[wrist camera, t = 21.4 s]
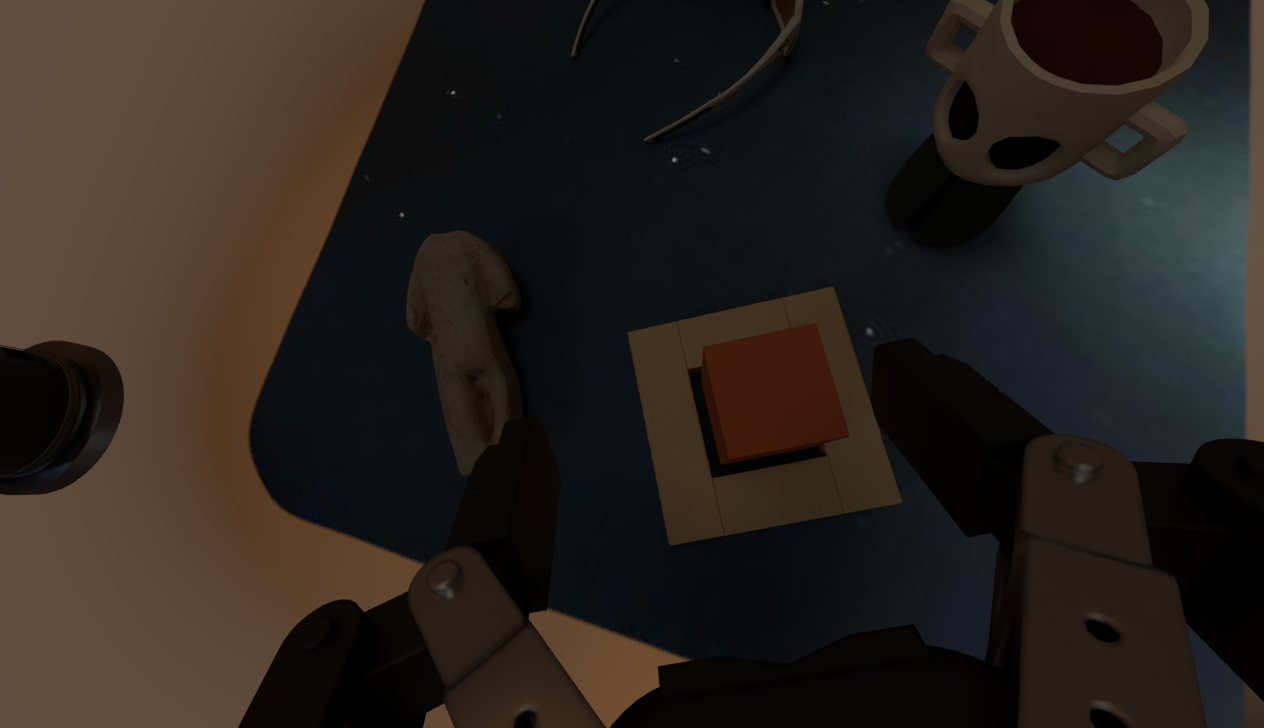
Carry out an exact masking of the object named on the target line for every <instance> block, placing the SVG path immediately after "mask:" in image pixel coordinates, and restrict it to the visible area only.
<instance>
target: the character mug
mask: <svg viewBox="0 0 1264 728" xmlns="http://www.w3.org/2000/svg"><path fill="white" fill-rule="evenodd" d="M1208 22H1209V9H1208V7H1207V5H1206V3H1205V1H1204V0H999V1H998V2H997V3H996V5H995V6H994V5H992V4H991V3H989V2H987V1H986V0H951V1H950V2H949V4H948V6H947V8H946V10H945V11H944V13H943V15H942V17H941V19H940V21H939V23H938V25H937V27H936V28H935V30H934V32H933V34H932V36H931V38H930V40H929V42H928V44H927V48H926V53H925V55H926V56H927V57H928V59H929V60H930V61H931V62H932V63H934V64H935V65H937V66H938V67H940V68H941V69H943V70H944V71H946V72H947V73H949V74H950V77H949V79H948V80H947V82H946V84H945V85H944V87H943V89H942V90H941V92H940V94H939V95H938V97H937V99H936V102H935V109H934V115H933V121H932V127H931V128H932V131H933V133H932V134H931V135H930V136H929V137H928V138H927V139H926V141H925V142H924V143H923V144H922V145H921V146H920V147H919V148H918V149H917V150H916V151H915V152H914V153H913V154H912V156H911V157H910V158H909V159H908V160H907V161H906V163H905V164H904V165H903V166H902V168H901V169H900V171H899V172H898V174H897V175H896V177H895V178H894V180H893V181H892V183H891V184H890V186H889V199H888V207H889V209H890V211H891V213H892V216H893V218H894V220H895V222H896V224H897V225H899V226H900V227H901V226H902V225H903V224H904V223H905V222H906V221H907V220H908V219H909V218H910V217H911V216H912V217H913V218H914V219H915V221H916V222H918V223H921V224H922V225H921V226H920V228H919V229H918V230H917V231H916V232H915V234H914V235H913V237H914V238H915V239H916V240H919V241H923V242H927V243H930V244H934V245H938V246H942V245H951V244H960V243H965V242H967V241H968V240H970V239H972V238H973V237H975V236H977V235H978V234H980V233H982V232H983V231H985V230H987V229H988V228H989V226H990V225H991V224H992V223H993V222H994V221H995V220H996V219H997V217H998V216H999V215H1000V214H1001V213H1002V212H1003V211H1004V209H1005V208H1006V207H1007V205H1008V204H1009V203H1010V202H1011V200H1012V199H1013V198H1014V197H1015V195H1016V194H1017V193H1018V191H1019V190H1020V189H1021V188H1022V186H1023V185H1024V184H1029V183H1035V182H1040V181H1043V180H1047V179H1050V178H1052V177H1054V176H1056V175H1058V174H1059V173H1061V172H1063V171H1064V170H1066V169H1068V168H1070V167H1071V166H1073V165H1075V164H1076V163H1078V162H1079V161H1082V162H1083V163H1085V164H1086V165H1088V166H1089V167H1091V168H1092V169H1094V170H1095V171H1097V172H1098V173H1100V174H1101V175H1103V176H1104V177H1107V178H1110V179H1113V180H1120V179H1123V178H1126V177H1129V176H1131V175H1134V174H1136V173H1137V172H1139V171H1140V170H1141V169H1143V168H1144V167H1146V166H1147V165H1149V164H1150V163H1151V162H1153V161H1154V160H1156V159H1157V158H1159V157H1160V156H1161V155H1163V154H1164V153H1166V152H1167V151H1169V150H1170V149H1172V148H1173V147H1174V146H1176V145H1177V144H1179V143H1180V142H1181V141H1182V139H1183V138H1184V137H1185V135H1186V134H1187V133H1188V127H1187V125H1186V124H1185V123H1184V121H1183V120H1182V119H1181V118H1180V117H1178V116H1177V115H1175V114H1173V113H1172V112H1170V111H1168V110H1167V109H1165V108H1164V107H1162V106H1160V105H1159V104H1157V103H1155V102H1154V101H1153V100H1154V99H1155V98H1156V97H1157V96H1159V95H1160V94H1161V93H1162V92H1163V91H1165V90H1166V89H1167V88H1168V87H1169V86H1171V85H1172V84H1173V83H1174V82H1175V81H1177V80H1178V79H1179V78H1180V77H1181V76H1182V75H1183V74H1184V73H1185V72H1186V71H1187V70H1188V69H1189V68H1190V67H1191V66H1192V64H1193V63H1194V61H1195V59H1196V58H1197V56H1198V55H1199V53H1200V52H1201V50H1202V48H1203V47H1204V45H1205V44H1206V42H1207V41H1208ZM961 23H964V24H965V25H967V26H969V27H970V28H972V29H973V30H975V31H977V32H978V34H977V36H976V37H975V39H974V40H973V42H972V43H971V45H970V46H969V48H968V49H967V51H966V52H965V51H963V50H962V49H960V48H958V47H957V46H955V45H954V44H953V43H952V42H951V40H952V39H953V37H954V35H955V34H956V32H957V30H958V28H959V27H960V25H961ZM1124 124H1125V125H1127V126H1129V127H1130V128H1132V129H1133V130H1135V131H1137V132H1138V133H1140V134H1142V135H1143V136H1145V138H1144V139H1142V140H1141V141H1140V142H1138V143H1137V144H1136V145H1134V146H1133V147H1132V148H1131V149H1129V150H1128V151H1127V152H1125V153H1122V152H1120V151H1119V150H1117V149H1116V148H1114V147H1113V146H1111V145H1109V144H1108V143H1106V142H1105V141H1104V140H1105V139H1107V138H1108V137H1109V136H1110V135H1111V134H1113V133H1114V132H1115V131H1116V130H1117V129H1119V128H1120V127H1121V126H1122V125H1124Z"/></svg>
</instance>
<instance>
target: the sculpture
mask: <svg viewBox="0 0 1264 728" xmlns="http://www.w3.org/2000/svg"><path fill="white" fill-rule="evenodd" d="M520 306H521V294H520V290H519V288H518V286H517V284H516V282H515V280H514V278H513V275H512V273H511V271H510V269H509V267H508V265H507V263H506V261H505V260H504V258H503V257H502V256H501V255H500V254H499V253H498V252H497V251H496V250H495V249H494V248H493V247H492V246H491V245H490V244H488V243H487V242H485V241H484V240H482V239H480V238H478V237H476V236H474V235H472V234H471V233H469V232H465V231H452V232H449V233H446V234H432V235H430V236H429V237H428V238H427V239H426V240H425V241H424V242H423V244H422V245H421V247H420V249H419V251H418V254H417V256H416V259H415V263H414V269H413V272H412V275H411V278H410V281H409V288H408V297H407V323H408V327H409V328H410V329H411V330H412V331H413V332H414V334H416V335H417V336H419V337H420V338H421V339H423V340H428V341H429V342H430V344H431V345H432V356H433V362H434V367H435V373H436V378H437V383H438V387H439V394H440V400H441V404H442V410H443V414H444V418H445V422H446V426H447V430H448V434H449V438H450V441H451V444H452V447H453V450H454V453H455V456H456V461H457V464H458V468H459V471H460V473H461V475H462V476H464V477H467V476H470V475H471V472H472V469H473V466H474V463H475V462H476V460H477V459H478V458H479V457H480V455H481V454H482V453H483V452H484V450H485V449H486V448H487V447H488V446H490V445H495V444H498V443H499V439H500V436H501V432H502V429H503V426H504V423H505V422H506V421H510V420H514V419H519V418H523V403H522V394H521V387H520V384H519V380H518V377H517V374H516V371H515V369H514V366H513V364H512V362H511V359H510V357H509V355H508V352H507V350H506V347H505V345H504V342H503V340H502V337H501V335H500V332H499V330H498V327H497V313H498V312H499V311H503V312H508V313H514V312H516V311H518V310H519V309H520Z"/></svg>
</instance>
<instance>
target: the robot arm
mask: <svg viewBox="0 0 1264 728" xmlns="http://www.w3.org/2000/svg"><path fill="white" fill-rule="evenodd" d="M5 347H6V346H5ZM5 347H0V483H1V482H2V481H4V480H5V479H7V478H17V477H24V476H28V475H31V474H34V473H36V472H38V471H40V470H42V469H44V468H45V467H47V466H48V465H49V464H51V463H52V462H53V461H54V460H56V459H57V458H58V457H59V456H60V455H61V454H62V453H63V452H64V450H65V449H66V448H67V447H68V446H69V444H70V443H71V441H72V440H73V438H74V437H75V435H76V433H77V431H78V429H79V427H80V425H81V422H82V419H83V416H84V413H85V408H86V400H87V392H86V385H85V381H84V378H83V375H82V373H81V372H80V370H79V369H78V367H77V366H76V365H75V364H74V363H72V362H71V361H69V360H68V359H65V358H63V357H59V356H54V355H49V354H44V353H40V352H39V353H31V352H26V351H21V350H16V349H17V348H16V349H10V348H5ZM7 347H8V346H7ZM11 348H13V347H11ZM23 350H24V349H23ZM28 351H29V350H28ZM33 352H34V351H33ZM871 402H872V408H873V412H874V415H875V418H876V420H877V422H878V424H879V425H880V427H881V428H882V429H883V430H884V432H885V433H886V434H887V436H888V437H889V438H890V439H891V441H892V442H893V443H894V444H895V446H896V447H897V448H898V450H899V451H900V452H901V453H902V455H903V456H904V457H905V459H906V460H907V461H908V462H909V464H910V465H911V466H912V467H913V469H914V470H915V471H916V473H917V474H918V475H919V476H920V478H921V479H922V480H923V481H924V483H925V484H926V485H927V487H928V488H929V489H930V490H931V492H932V493H933V494H934V496H935V497H936V498H937V499H938V501H939V502H940V503H941V504H942V506H943V507H944V508H945V510H946V511H947V512H948V513H949V515H950V516H951V517H952V519H953V520H954V521H955V522H956V524H957V525H958V526H959V527H960V529H961V530H962V531H963V533H964V534H965V535H966V536H967V537H973V536H978V535H984V534H990V533H992V534H993V536H994V537H995V538H996V539H997V540H998V541H999V547H998V551H997V556H996V567H995V579H994V590H993V601H992V612H991V623H990V633H989V641H988V647H987V652H986V657H985V662H984V661H982V660H980V659H977V658H975V657H973V656H970V655H967V654H963V653H960V652H957V651H954V650H950V649H945V648H940V647H936V646H929V645H925V643H924V641H923V639H922V638H921V636H920V634H919V632H918V631H917V629H916V627H915V625H914V624H911V625H905V626H899V627H892V628H886V629H880V630H874V631H868V632H862V633H856V634H850V635H847V636H845V637H843V638H841V639H839V640H837V641H835V642H833V643H831V644H829V645H827V646H825V647H823V648H821V649H819V650H817V651H814V652H812V653H810V654H808V655H806V656H804V657H802V658H800V659H798V660H796V661H793V662H790V663H777V662H768V661H758V660H749V659H740V658H730V657H721V656H718V657H711V658H705V659H699V660H693V661H687V662H681V663H675V664H669V665H664V666H658V673H659V685H660V687H658V688H656V689H654V690H652V691H651V692H649V693H647V694H646V695H644V696H643V697H641V698H640V699H638V700H637V701H635V702H634V703H633V704H632V705H631V706H630V707H629V708H628V709H626V710H625V711H624V712H623V713H622V714H621V715H620V716H619V718H618V719H617V720H616V721H615V722H614V723H613V724H612V725H611V727H610V728H1207V724H1206V719H1205V714H1204V709H1203V704H1202V699H1201V694H1200V690H1199V685H1198V680H1197V675H1196V670H1195V665H1194V660H1193V656H1192V651H1191V646H1190V641H1189V636H1188V631H1187V626H1186V623H1187V624H1188V625H1189V626H1190V627H1191V628H1192V629H1193V630H1194V631H1195V632H1196V633H1197V635H1198V636H1199V637H1200V638H1201V639H1202V640H1203V641H1204V642H1205V643H1206V644H1207V645H1208V646H1209V647H1210V648H1211V649H1212V650H1213V651H1214V652H1215V653H1216V654H1217V655H1218V656H1219V657H1220V658H1221V659H1222V660H1223V661H1224V662H1225V663H1226V664H1227V665H1228V666H1229V667H1230V668H1231V669H1232V670H1233V671H1234V672H1235V673H1236V674H1237V675H1238V676H1239V677H1240V678H1241V679H1242V680H1243V681H1244V682H1245V683H1246V684H1247V685H1248V686H1249V687H1250V688H1251V689H1252V690H1253V691H1254V692H1255V693H1256V694H1257V695H1258V696H1259V698H1261V699H1262V701H1264V442H1260V441H1254V440H1246V439H1218V440H1213V441H1209V442H1207V443H1204V444H1203V445H1202V446H1200V447H1199V449H1198V450H1197V452H1196V454H1195V456H1194V458H1193V460H1192V462H1191V464H1180V463H1155V462H1133V461H1129V460H1128V459H1127V458H1126V457H1125V456H1124V455H1122V454H1121V453H1120V452H1118V451H1117V450H1115V449H1113V448H1111V447H1109V446H1107V445H1105V444H1103V443H1100V442H1098V441H1095V440H1092V439H1088V438H1085V437H1080V436H1075V435H1067V434H1054V433H1053V432H1052V431H1051V430H1049V429H1048V428H1047V427H1045V426H1044V425H1043V424H1042V423H1040V422H1039V421H1038V420H1037V419H1035V418H1034V417H1033V416H1032V415H1030V414H1029V413H1028V412H1027V411H1025V410H1024V409H1023V408H1022V407H1020V406H1019V405H1018V404H1017V403H1015V402H1014V401H1013V400H1012V399H1010V398H1009V397H1008V396H1007V395H1005V394H1004V393H1000V392H999V389H998V388H997V387H995V386H994V385H993V384H992V383H990V382H989V381H985V378H984V377H983V376H981V375H980V374H979V373H978V372H976V371H975V370H974V369H973V368H971V367H970V366H969V365H968V364H966V363H963V362H961V361H958V360H956V359H953V358H951V357H949V356H946V355H944V354H940V355H934V354H933V353H932V352H930V351H929V350H928V349H927V348H926V347H925V346H923V345H922V344H921V343H920V342H919V341H917V340H916V339H914V338H909V339H904V340H899V341H894V342H889V343H885V344H880V345H877V346H876V347H875V349H874V354H873V373H872V395H871ZM560 489H561V478H560V471H559V466H558V463H557V460H556V457H555V455H554V452H553V450H552V447H551V445H550V442H549V440H548V437H547V435H546V432H545V430H544V427H543V425H542V423H541V420H540V419H539V417H538V416H537V415H534V416H529V417H524V418H519V419H514V420H510V421H506V422H505V423H504V426H503V429H502V432H501V436H500V439H499V443H498V444H495V445H490V446H488V447H487V448H486V449H485V450H484V452H483V453H482V454H481V455H480V457H479V458H478V459H477V460H476V462H475V463H474V466H473V469H472V472H471V475H470V478H469V483H468V484H467V486H466V489H465V492H464V498H462V501H461V504H460V507H459V510H458V513H457V516H456V519H455V522H454V524H453V527H452V530H451V533H450V536H449V539H448V542H447V545H446V548H445V551H443V552H441V553H439V554H438V555H436V556H434V557H433V558H432V559H430V560H429V561H428V562H427V563H426V564H425V565H424V566H422V568H421V569H420V570H419V571H418V572H417V574H416V575H415V577H414V578H413V580H412V582H411V584H410V587H409V590H408V591H407V592H405V593H403V594H402V595H399V596H397V597H395V598H393V599H391V600H389V601H387V602H385V603H383V604H381V605H378V606H376V607H374V608H372V609H370V610H368V611H366V612H363V610H362V609H361V608H360V607H359V606H358V605H357V603H355V602H354V601H351V600H343V599H342V600H337V601H333V602H330V603H328V604H325V605H323V606H321V607H319V608H318V609H316V610H314V611H313V612H312V613H310V614H309V615H307V616H306V617H305V618H304V619H303V620H301V621H300V622H299V623H298V624H297V625H296V626H295V627H294V628H293V629H292V631H291V632H290V633H289V634H288V636H287V637H286V638H285V640H284V641H283V643H282V645H281V647H280V648H279V650H278V652H277V654H276V656H275V658H274V660H273V662H272V664H271V665H270V667H269V669H268V671H267V673H266V675H265V677H264V679H263V681H262V683H261V685H260V687H259V689H258V690H257V692H256V694H255V696H254V698H253V700H252V702H251V704H250V706H249V708H248V710H247V712H246V713H245V715H244V717H243V719H242V721H241V723H240V725H239V727H238V728H423V725H424V721H425V716H426V713H427V712H429V711H430V710H432V709H434V708H436V707H438V706H440V705H442V704H445V706H446V709H447V711H448V713H449V715H450V718H451V720H452V722H453V725H454V727H455V728H606V727H605V726H604V724H603V723H602V721H601V720H600V719H599V717H598V716H597V714H596V713H595V712H594V710H593V709H592V707H591V706H590V705H589V703H588V702H587V700H586V699H585V698H584V696H583V695H582V693H581V692H580V691H579V689H578V688H577V686H576V685H575V683H574V682H573V681H572V679H571V678H570V676H569V675H568V674H567V672H566V671H565V669H564V668H563V666H562V665H561V664H560V662H559V661H558V659H557V658H556V657H555V655H554V654H553V652H552V651H551V650H550V648H549V647H548V645H547V644H546V642H545V641H544V640H543V638H542V637H541V635H540V634H539V633H538V631H537V630H536V628H535V627H534V626H533V624H532V623H531V622H530V620H529V613H533V612H539V611H545V610H547V605H548V596H549V587H550V578H551V570H552V561H553V552H554V543H555V534H556V525H557V516H558V507H559V498H560Z"/></svg>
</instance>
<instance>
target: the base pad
mask: <svg viewBox="0 0 1264 728" xmlns="http://www.w3.org/2000/svg"><path fill="white" fill-rule="evenodd" d="M813 323H816V325H817V328H818V331H819V334H820V338H821V341H822V344H823V348H824V351H825V354H826V358H827V361H828V364H829V368H830V371H831V374H832V378H833V381H834V384H835V388H836V391H837V394H838V398H839V401H840V404H841V408H842V411H843V414H844V418H845V421H846V424H847V428H848V431H849V437H846V438H843V439H839V440H836V441H832V442H828V443H825V444H821V445H818V446H814V451H815V455H816V458H813V459H808V460H803V461H797V462H792V463H787V464H782V465H777V466H772V467H767V468H762V469H756V470H751V471H746V472H741V473H736V474H731V475H726V476H720V477H715V478H712V475H711V471H710V467H709V462H708V458H707V453H706V449H705V444H704V440H703V435H702V431H701V427H700V422H699V418H698V413H697V409H696V404H695V400H694V395H693V391H692V387H691V382H690V377H695V376H700V375H702V356H703V347H705V346H710V345H715V344H719V343H724V342H729V341H733V340H738V339H743V338H747V337H752V336H757V335H761V334H766V333H771V332H775V331H780V330H785V329H789V328H794V327H799V326H803V325H808V324H813ZM628 337H629V343H630V348H631V353H632V358H633V363H634V368H635V373H636V378H637V383H638V388H639V394H640V399H641V404H642V409H643V414H644V419H645V424H646V429H647V434H648V439H649V445H650V450H651V455H652V460H653V465H654V470H655V475H656V480H657V485H658V490H659V496H660V501H661V506H662V511H663V516H664V521H665V526H666V531H667V536H668V541H669V545H677V544H682V543H688V542H693V541H699V540H704V539H709V538H715V537H720V536H724V535H731V534H737V533H742V532H748V531H753V530H759V529H764V528H769V527H775V526H780V525H786V524H791V523H796V522H802V521H807V520H813V519H818V518H823V517H829V516H834V515H840V514H843V513H850V512H856V511H861V510H866V509H872V508H877V507H883V506H888V505H893V504H899V503H902V500H901V496H900V493H899V490H898V487H897V484H896V481H895V478H894V474H893V471H892V468H891V465H890V462H889V459H888V456H887V453H886V449H885V446H884V443H883V440H882V437H881V434H880V431H879V428H878V424H877V421H876V418H875V415H874V412H873V409H872V406H871V402H870V399H869V396H868V393H867V390H866V387H865V384H864V381H863V377H862V374H861V371H860V368H859V365H858V362H857V359H856V356H855V352H854V349H853V346H852V343H851V340H850V337H849V334H848V330H847V327H846V324H845V321H844V318H843V315H842V312H841V309H840V305H839V302H838V299H837V296H836V293H835V290H834V287H829V288H825V289H820V290H816V291H811V292H807V293H802V294H798V295H793V296H789V297H784V298H782V299H781V298H779V299H775V300H770V301H766V302H761V303H757V304H752V305H748V306H743V307H739V308H734V309H730V310H725V311H721V312H716V313H712V314H707V315H703V316H698V317H694V318H689V319H685V320H680V321H677V322H672V323H667V324H663V325H658V326H654V327H649V328H645V329H640V330H636V331H631V332H628Z"/></svg>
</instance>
